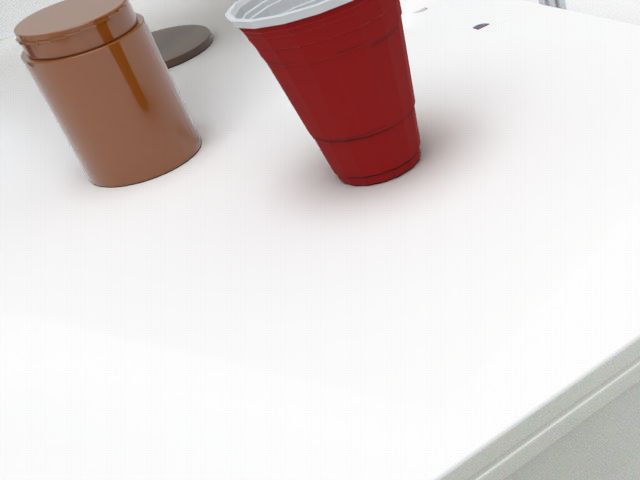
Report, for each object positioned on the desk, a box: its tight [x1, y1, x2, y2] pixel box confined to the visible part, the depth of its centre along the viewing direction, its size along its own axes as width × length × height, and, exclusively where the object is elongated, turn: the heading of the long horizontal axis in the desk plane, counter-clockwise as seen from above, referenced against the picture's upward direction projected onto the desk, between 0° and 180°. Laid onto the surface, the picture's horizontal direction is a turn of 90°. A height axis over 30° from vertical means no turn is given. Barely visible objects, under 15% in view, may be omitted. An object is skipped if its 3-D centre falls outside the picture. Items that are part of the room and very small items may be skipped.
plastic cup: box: [224, 0, 421, 186], centre depth 68 cm, size 11×11×12 cm
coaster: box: [150, 24, 214, 69], centre depth 97 cm, size 10×10×1 cm
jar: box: [13, 0, 202, 188], centre depth 76 cm, size 8×8×11 cm
